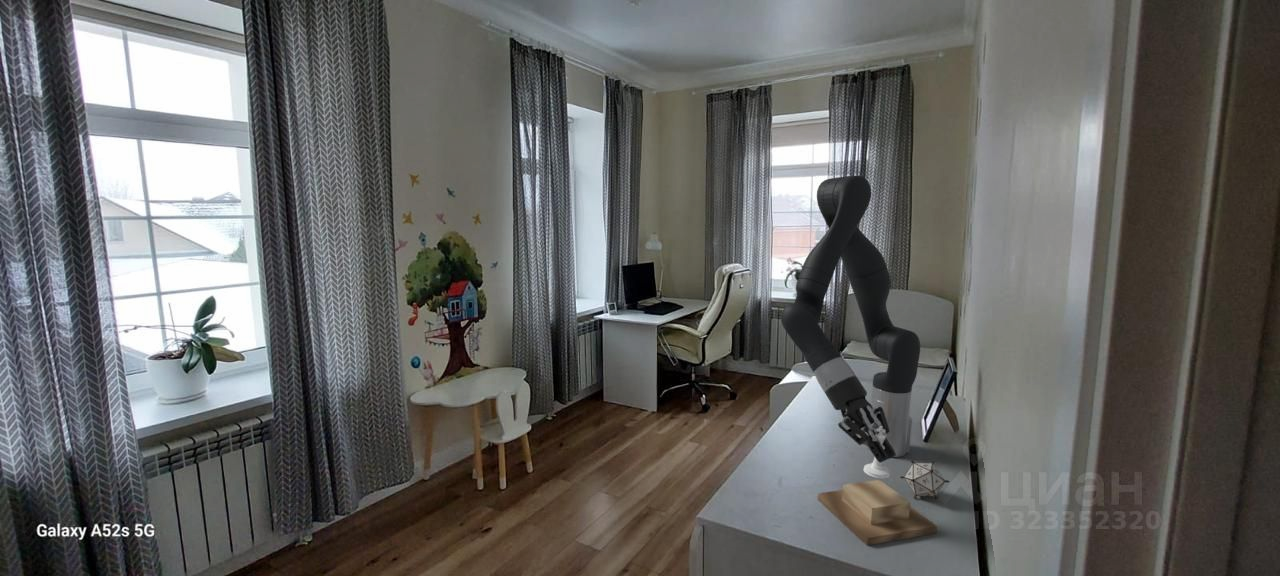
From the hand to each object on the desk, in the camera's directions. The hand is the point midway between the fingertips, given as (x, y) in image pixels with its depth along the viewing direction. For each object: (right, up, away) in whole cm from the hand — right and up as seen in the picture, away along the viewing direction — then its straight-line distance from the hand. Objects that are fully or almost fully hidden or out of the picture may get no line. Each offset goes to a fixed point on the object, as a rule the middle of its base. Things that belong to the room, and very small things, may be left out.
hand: (888, 458), depth 104 cm
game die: (+13, -12, +12) cm, 21 cm away
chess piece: (-1, -4, +2) cm, 5 cm away
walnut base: (-1, -13, +4) cm, 14 cm away
